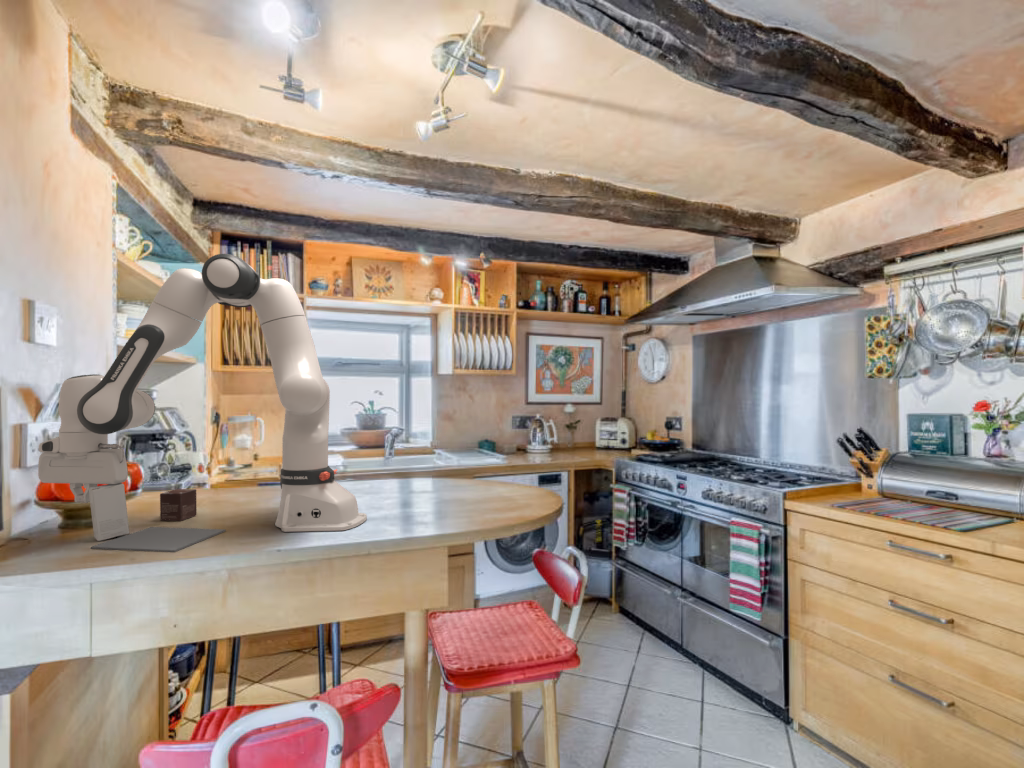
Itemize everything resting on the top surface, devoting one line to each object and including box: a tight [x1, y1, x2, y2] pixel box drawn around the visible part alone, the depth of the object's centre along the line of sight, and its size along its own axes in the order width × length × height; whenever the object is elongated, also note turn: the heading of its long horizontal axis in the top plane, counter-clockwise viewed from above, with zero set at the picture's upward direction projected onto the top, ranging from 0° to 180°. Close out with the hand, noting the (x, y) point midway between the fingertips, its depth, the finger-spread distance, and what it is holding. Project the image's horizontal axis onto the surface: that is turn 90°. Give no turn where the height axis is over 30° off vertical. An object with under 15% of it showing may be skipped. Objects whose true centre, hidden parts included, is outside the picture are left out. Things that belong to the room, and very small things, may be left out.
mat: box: [90, 526, 227, 553], centre depth 117 cm, size 20×16×1 cm
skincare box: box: [89, 482, 130, 542], centre depth 118 cm, size 6×4×12 cm
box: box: [159, 488, 198, 522], centre depth 136 cm, size 6×6×7 cm
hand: (83, 502), depth 119 cm, fingers closed
